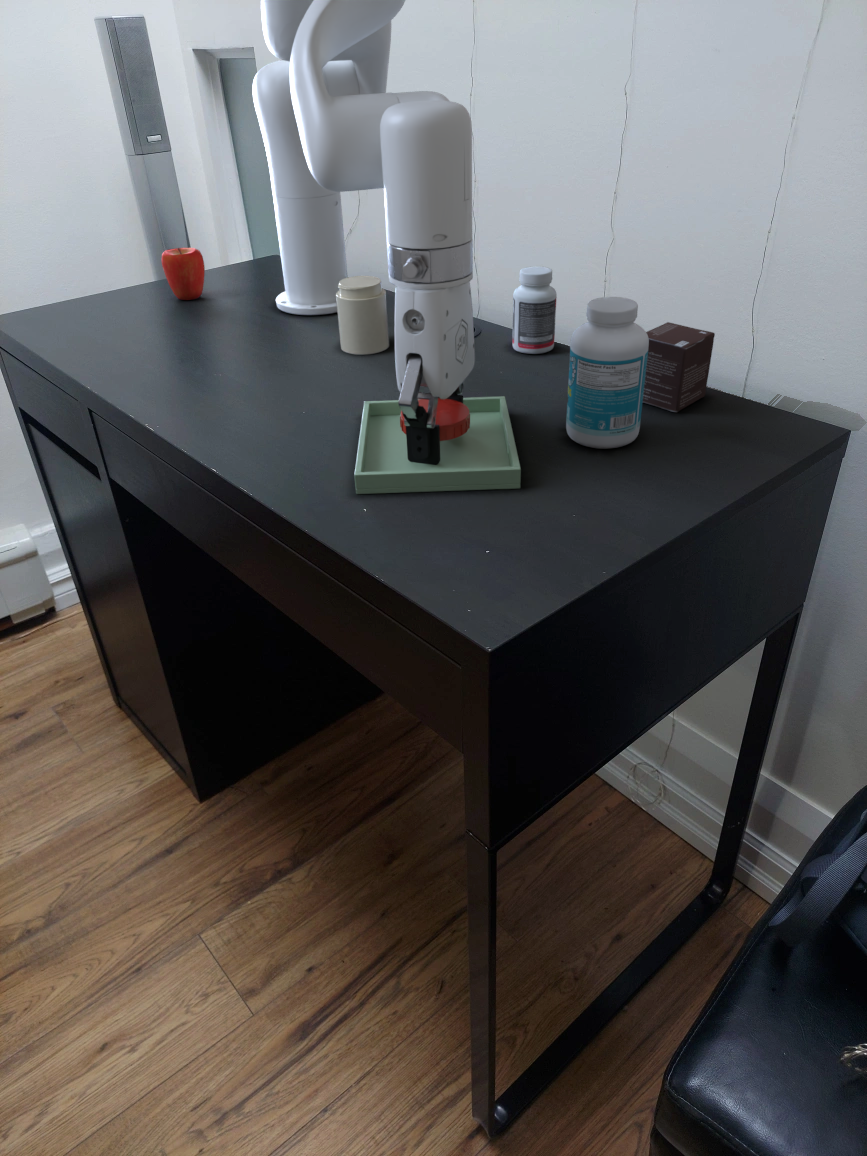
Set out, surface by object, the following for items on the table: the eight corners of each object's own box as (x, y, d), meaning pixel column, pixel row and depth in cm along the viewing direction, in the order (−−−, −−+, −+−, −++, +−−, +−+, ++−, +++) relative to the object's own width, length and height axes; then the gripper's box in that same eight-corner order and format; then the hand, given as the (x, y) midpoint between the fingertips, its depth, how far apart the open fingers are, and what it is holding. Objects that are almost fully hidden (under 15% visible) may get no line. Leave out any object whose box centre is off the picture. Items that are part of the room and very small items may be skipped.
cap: (457, 445, 80) (457, 430, 79) (390, 436, 82) (389, 421, 81) (478, 416, 85) (478, 402, 84) (414, 408, 87) (414, 394, 86)
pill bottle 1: (562, 349, 108) (567, 270, 103) (530, 358, 106) (532, 278, 100) (536, 338, 112) (538, 262, 106) (503, 346, 110) (504, 269, 104)
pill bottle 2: (585, 415, 91) (594, 288, 83) (650, 430, 87) (666, 298, 80) (552, 441, 86) (558, 308, 78) (619, 458, 82) (633, 320, 75)
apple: (208, 290, 136) (200, 241, 132) (210, 300, 131) (201, 250, 127) (168, 294, 135) (158, 245, 131) (169, 304, 130) (158, 254, 126)
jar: (342, 339, 114) (336, 275, 109) (389, 337, 114) (385, 273, 109) (339, 355, 109) (333, 289, 104) (389, 353, 109) (384, 287, 104)
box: (659, 384, 97) (667, 321, 93) (706, 397, 94) (717, 332, 90) (629, 399, 94) (636, 334, 90) (676, 414, 90) (685, 347, 86)
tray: (365, 418, 92) (364, 401, 91) (504, 413, 92) (504, 396, 91) (356, 494, 78) (354, 475, 77) (520, 488, 78) (520, 469, 77)
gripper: (438, 291, 67) (444, 490, 77) (497, 241, 80) (496, 416, 90) (352, 285, 69) (368, 480, 79) (423, 237, 82) (430, 409, 92)
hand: (436, 444), depth 85 cm, fingers closed on cap, 6 cm apart
